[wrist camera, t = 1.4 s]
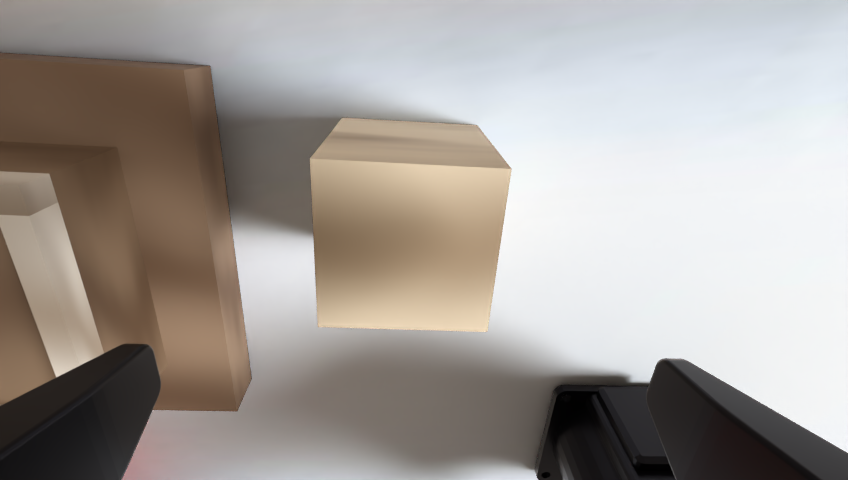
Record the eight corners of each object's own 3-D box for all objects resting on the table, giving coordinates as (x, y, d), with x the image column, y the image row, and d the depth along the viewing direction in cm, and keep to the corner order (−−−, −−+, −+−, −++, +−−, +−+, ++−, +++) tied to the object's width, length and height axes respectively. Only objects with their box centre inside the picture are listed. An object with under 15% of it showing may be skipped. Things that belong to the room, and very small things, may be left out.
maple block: (463, 245, 19) (487, 332, 13) (344, 240, 18) (317, 326, 13) (477, 125, 16) (511, 168, 11) (342, 117, 16) (309, 158, 11)
